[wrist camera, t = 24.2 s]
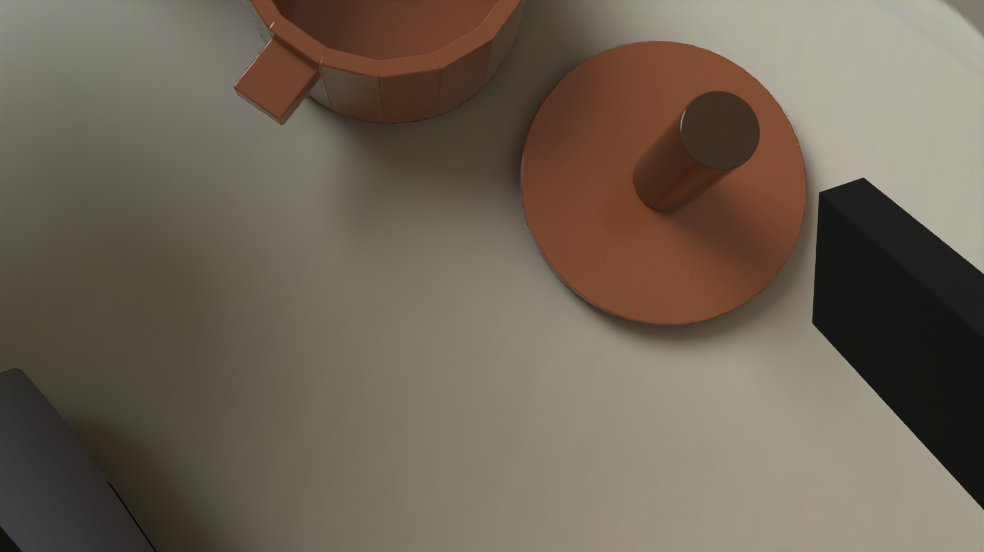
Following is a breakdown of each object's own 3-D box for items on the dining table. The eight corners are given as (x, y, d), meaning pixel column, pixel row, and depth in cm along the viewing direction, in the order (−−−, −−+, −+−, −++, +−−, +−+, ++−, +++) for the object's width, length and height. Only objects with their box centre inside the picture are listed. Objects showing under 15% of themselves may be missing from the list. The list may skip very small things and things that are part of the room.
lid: (461, 216, 43) (472, 167, 34) (620, -3, 46) (671, -104, 37) (699, 384, 43) (773, 379, 34) (847, 155, 45) (955, 93, 36)
